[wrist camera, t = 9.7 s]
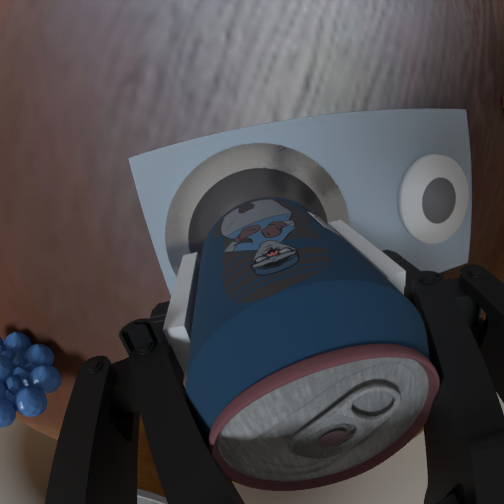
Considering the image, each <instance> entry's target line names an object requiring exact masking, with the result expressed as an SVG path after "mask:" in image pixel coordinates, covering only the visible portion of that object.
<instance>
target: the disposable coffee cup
mask: <svg viewBox="0 0 504 504" xmlns="http://www.w3.org/2000/svg"><path fill="white" fill-rule="evenodd" d="M137 504H168V502H167V500H166V497H165V494H164V491H163V489H162V486H161V483H160V480H159V477H158V474H157V471H156V468H155V464H154V461H153V458H152V455H151V451H150V448H149V444H148V441H147V437H146V433H145V429H144V425H143V421H142V417H141V415H140V423H139V441H138V470H137Z"/></svg>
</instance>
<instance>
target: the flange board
mask: <svg viewBox="0 0 504 504" xmlns="http://www.w3.org/2000/svg"><path fill="white" fill-rule="evenodd" d="M248 143H269V144H276V145H281V146H285V147H288V148H292V149H294V150H296V151H299V152H301V153H303V154H305V155H307V156H308V157H310V158H311V159H313V160H314V161H316V162H317V163H318V164H319V165H320V166H322V167H323V168H324V169H325V170H326V171H327V173H328V174H329V175H330V176H331V177H332V178H333V180H334V182H335V183H336V185H337V186H338V188H339V190H340V192H341V194H342V196H343V198H344V202H345V205H346V208H347V213H348V219H349V227H351V228H352V229H353V230H355V231H356V232H357V233H359V234H360V235H361V236H363V237H364V238H365V239H367V240H368V241H369V242H370V243H372V244H373V245H374V246H375V247H377V248H378V249H379V250H381V251H383V250H387V249H388V250H391V251H394V252H396V253H398V254H399V255H400V256H402V257H403V258H404V259H406V260H407V262H410V263H411V264H412V265H414V266H415V267H416V268H417V269H419V270H420V271H434V272H437V273H440V272H443V271H446V270H449V269H452V268H454V267H457V266H460V265H463V264H465V263H468V256H469V246H470V233H471V212H472V173H471V153H470V140H469V130H468V121H467V113H466V109H390V110H372V111H359V112H347V113H337V114H328V115H320V116H312V117H304V118H297V119H291V120H284V121H278V122H272V123H266V124H261V125H256V126H250V127H245V128H240V129H235V130H231V131H226V132H222V133H217V134H213V135H209V136H204V137H200V138H196V139H192V140H189V141H185V142H181V143H177V144H174V145H170V146H166V147H163V148H159V149H156V150H153V151H149V152H146V153H143V154H140V155H136V156H133V157H130V158H129V162H130V166H131V170H132V174H133V178H134V181H135V185H136V189H137V192H138V196H139V199H140V203H141V206H142V210H143V213H144V216H145V220H146V223H147V226H148V230H149V233H150V236H151V239H152V242H153V245H154V248H155V251H156V254H157V257H158V260H159V263H160V266H161V269H162V272H163V275H164V278H165V281H166V283H167V286H168V289H169V292H170V294H171V296H172V293H173V289H174V285H175V282H176V278H177V277H176V275H175V273H174V271H173V269H172V267H171V264H170V262H169V259H168V255H167V251H166V243H165V224H166V219H167V213H168V210H169V207H170V204H171V201H172V199H173V197H174V195H175V193H176V191H177V189H178V188H179V186H180V185H181V184H182V182H183V181H184V179H185V178H186V177H187V176H188V175H189V174H190V173H191V172H192V171H193V169H194V168H195V167H197V166H198V165H199V164H200V163H202V162H203V161H204V160H205V159H207V158H209V157H210V156H212V155H214V154H215V153H217V152H220V151H222V150H224V149H226V148H230V147H233V146H237V145H241V144H248Z"/></svg>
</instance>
